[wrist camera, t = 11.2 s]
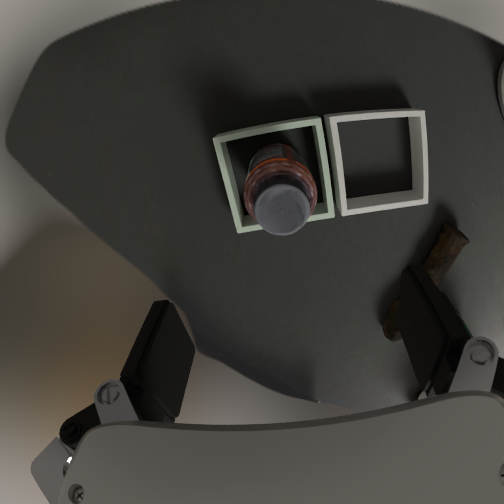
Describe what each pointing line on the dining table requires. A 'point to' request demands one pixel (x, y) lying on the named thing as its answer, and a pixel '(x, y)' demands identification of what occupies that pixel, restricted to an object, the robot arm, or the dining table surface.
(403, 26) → the dining table surface
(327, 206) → the sage bin
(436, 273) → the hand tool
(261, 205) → the supplement bottle
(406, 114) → the grey bin
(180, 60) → the dining table surface
